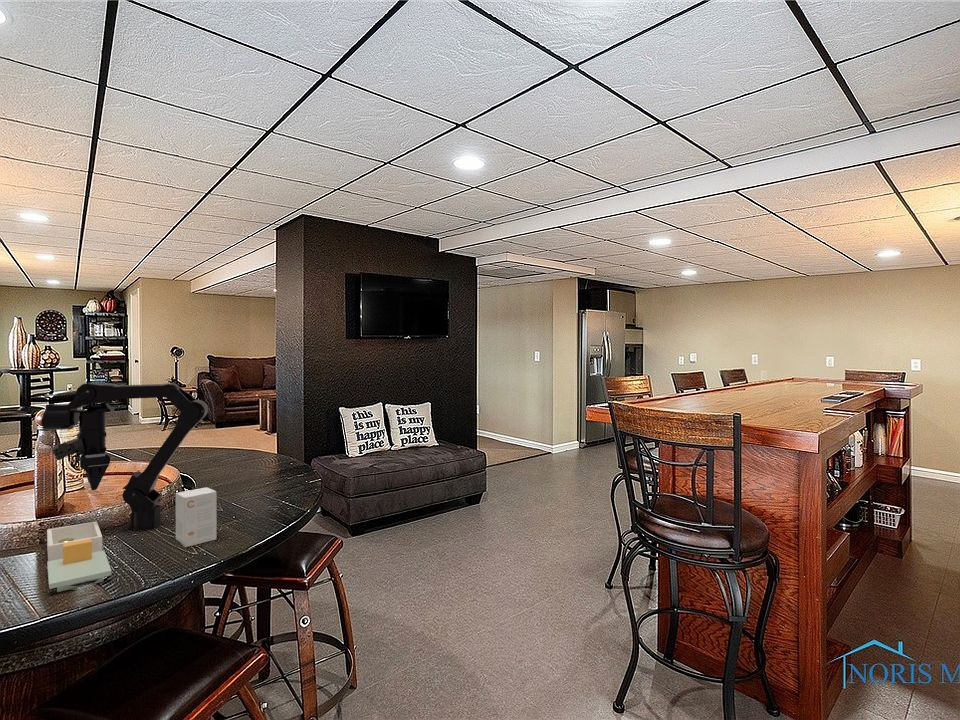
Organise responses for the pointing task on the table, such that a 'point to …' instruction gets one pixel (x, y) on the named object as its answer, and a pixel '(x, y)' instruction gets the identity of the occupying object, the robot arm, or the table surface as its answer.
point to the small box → (196, 516)
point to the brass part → (66, 540)
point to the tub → (77, 534)
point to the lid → (77, 566)
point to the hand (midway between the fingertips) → (92, 486)
